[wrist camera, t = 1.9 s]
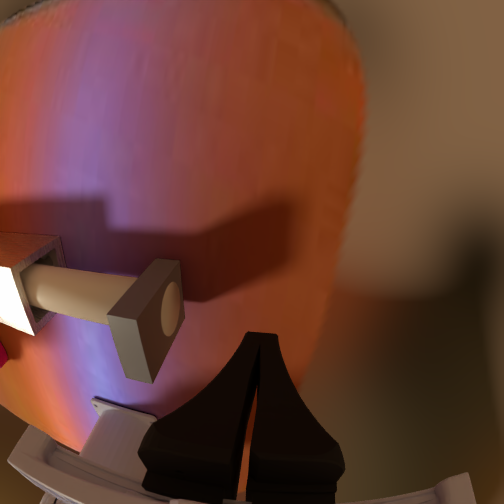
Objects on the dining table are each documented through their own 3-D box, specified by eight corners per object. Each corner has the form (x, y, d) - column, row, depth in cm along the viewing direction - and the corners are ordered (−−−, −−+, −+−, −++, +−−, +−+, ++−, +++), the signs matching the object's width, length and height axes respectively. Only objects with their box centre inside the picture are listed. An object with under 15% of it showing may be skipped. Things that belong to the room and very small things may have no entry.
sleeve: (59, 235, 18) (10, 268, 13) (74, 296, 20) (34, 335, 15) (-17, 230, 19) (-55, 253, 14) (-4, 277, 21) (-38, 304, 16)
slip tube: (179, 260, 16) (136, 319, 11) (185, 317, 18) (152, 384, 13) (-26, 239, 18) (-66, 264, 13) (-16, 276, 20) (-52, 304, 15)
